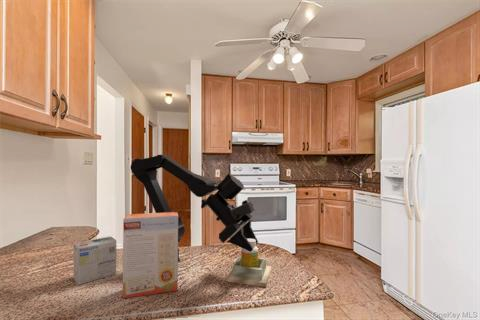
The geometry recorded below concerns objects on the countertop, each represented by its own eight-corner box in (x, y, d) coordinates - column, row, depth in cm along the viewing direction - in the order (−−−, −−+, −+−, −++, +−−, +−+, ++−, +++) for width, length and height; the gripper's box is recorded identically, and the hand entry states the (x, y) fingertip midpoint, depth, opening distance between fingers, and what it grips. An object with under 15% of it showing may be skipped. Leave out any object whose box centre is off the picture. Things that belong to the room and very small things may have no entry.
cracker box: (177, 281, 72) (178, 210, 72) (177, 292, 66) (178, 215, 66) (125, 287, 68) (127, 213, 68) (121, 299, 62) (122, 217, 63)
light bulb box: (110, 267, 81) (110, 235, 81) (117, 274, 76) (117, 239, 76) (72, 277, 74) (72, 242, 74) (76, 286, 69) (77, 247, 69)
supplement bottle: (252, 276, 73) (252, 243, 74) (237, 272, 76) (238, 240, 77) (261, 270, 78) (261, 239, 78) (246, 266, 81) (246, 236, 81)
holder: (226, 281, 72) (226, 267, 72) (236, 264, 84) (237, 253, 84) (266, 286, 69) (266, 272, 69) (271, 269, 81) (271, 257, 81)
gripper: (229, 196, 69) (267, 239, 66) (246, 189, 87) (277, 223, 84) (204, 221, 71) (239, 264, 68) (225, 210, 89) (254, 243, 86)
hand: (254, 246), depth 76 cm, fingers open, 7 cm apart
